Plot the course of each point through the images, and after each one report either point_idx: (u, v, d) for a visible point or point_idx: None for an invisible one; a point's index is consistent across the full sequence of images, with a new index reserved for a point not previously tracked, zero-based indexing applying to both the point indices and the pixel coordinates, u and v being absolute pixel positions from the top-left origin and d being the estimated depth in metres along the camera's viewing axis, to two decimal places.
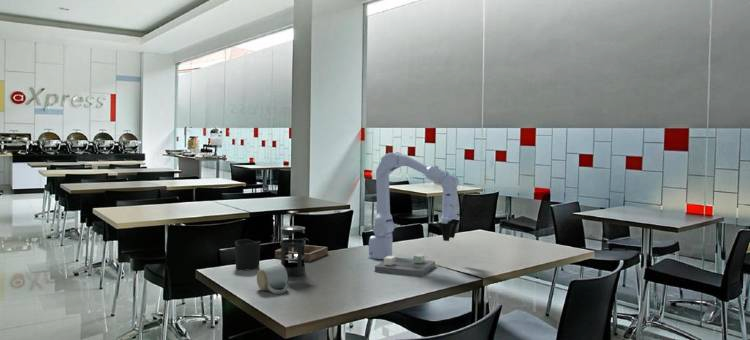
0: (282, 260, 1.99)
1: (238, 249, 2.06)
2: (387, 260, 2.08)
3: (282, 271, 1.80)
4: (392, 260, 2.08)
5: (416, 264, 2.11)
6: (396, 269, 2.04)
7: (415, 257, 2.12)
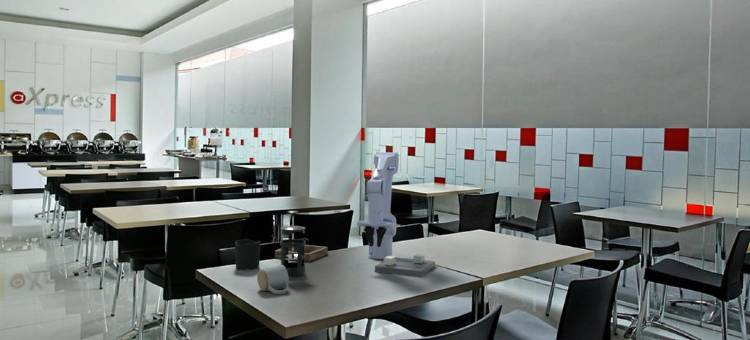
0: (282, 260, 1.99)
1: (238, 249, 2.06)
2: (387, 260, 2.08)
3: (283, 271, 1.80)
4: (392, 260, 2.08)
5: (416, 264, 2.11)
6: (396, 269, 2.04)
7: (415, 257, 2.12)
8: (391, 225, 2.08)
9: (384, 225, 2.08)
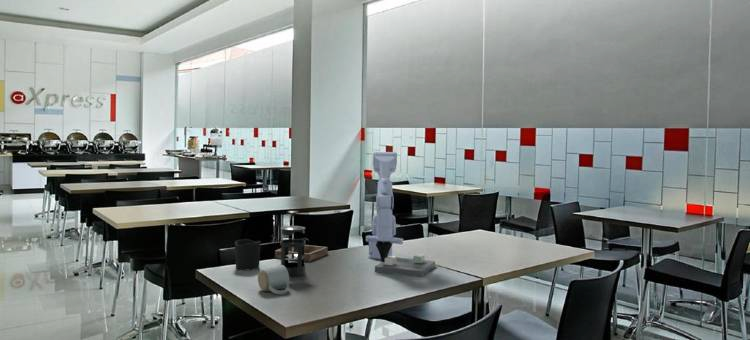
0: (282, 260, 1.99)
1: (238, 249, 2.06)
2: (388, 260, 2.08)
3: (283, 272, 1.79)
4: (393, 260, 2.08)
5: (416, 264, 2.11)
6: (396, 269, 2.04)
7: (415, 257, 2.12)
8: (400, 240, 2.07)
9: (393, 240, 2.07)
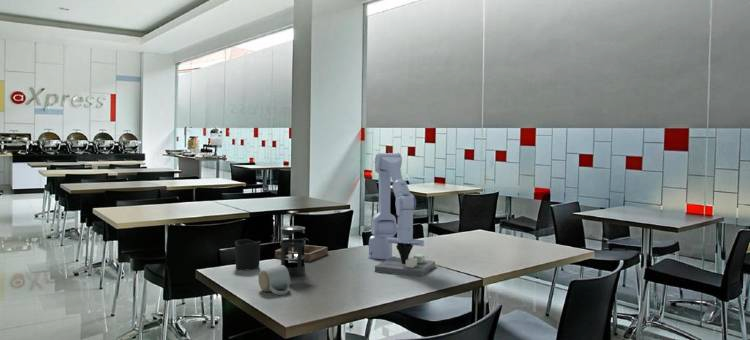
0: (282, 260, 1.99)
1: (238, 249, 2.06)
2: (409, 262, 2.05)
3: (284, 272, 1.79)
4: (414, 262, 2.05)
5: None
6: (396, 269, 2.04)
7: (415, 257, 2.12)
8: (421, 242, 2.04)
9: (414, 242, 2.04)
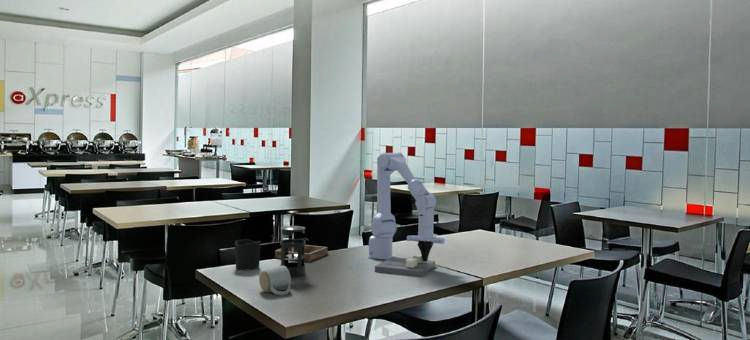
0: (282, 260, 1.99)
1: (238, 249, 2.06)
2: (409, 262, 2.05)
3: (285, 272, 1.78)
4: (414, 262, 2.05)
5: None
6: (396, 269, 2.04)
7: (414, 257, 2.12)
8: (442, 240, 2.09)
9: (435, 240, 2.09)
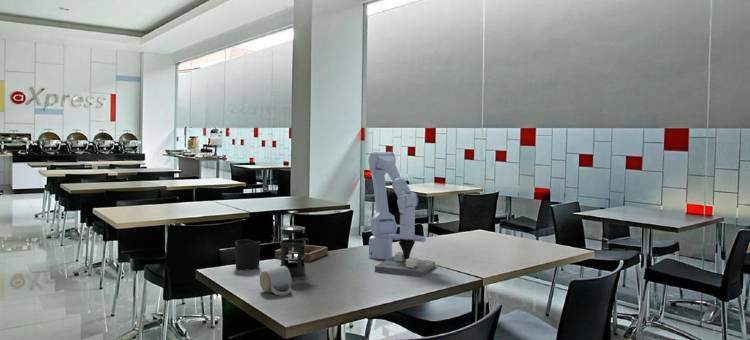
0: (282, 260, 1.99)
1: (238, 249, 2.06)
2: (409, 262, 2.05)
3: (285, 273, 1.78)
4: (414, 262, 2.05)
5: None
6: (396, 269, 2.04)
7: (396, 255, 2.15)
8: (423, 238, 2.12)
9: (416, 238, 2.12)
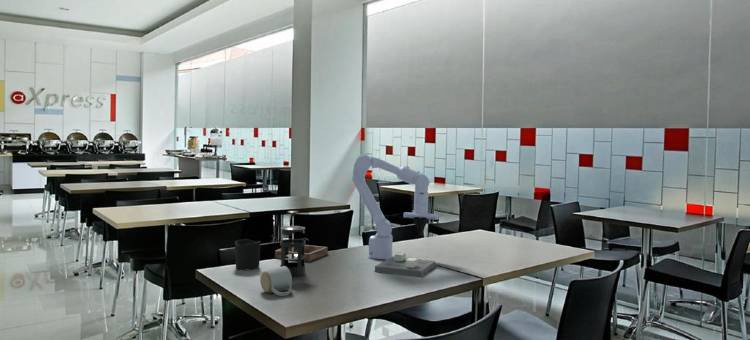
0: (282, 260, 1.99)
1: (238, 249, 2.06)
2: (409, 262, 2.05)
3: (286, 273, 1.78)
4: (414, 262, 2.05)
5: None
6: (396, 269, 2.04)
7: (396, 255, 2.15)
8: (436, 216, 2.27)
9: (429, 216, 2.28)
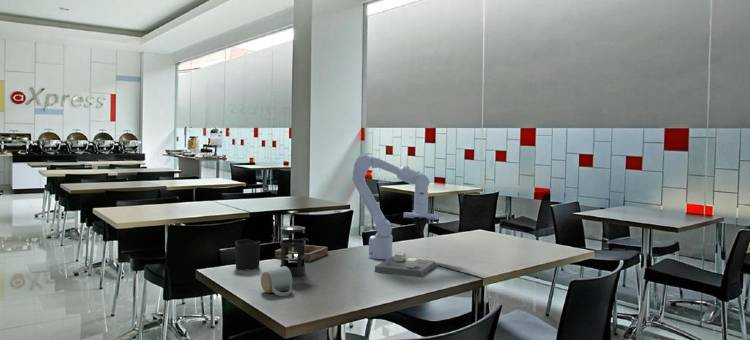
0: (282, 260, 1.99)
1: (238, 249, 2.06)
2: (409, 262, 2.05)
3: (286, 273, 1.77)
4: (414, 262, 2.05)
5: None
6: (396, 269, 2.04)
7: (396, 255, 2.15)
8: (436, 216, 2.27)
9: (429, 216, 2.28)
